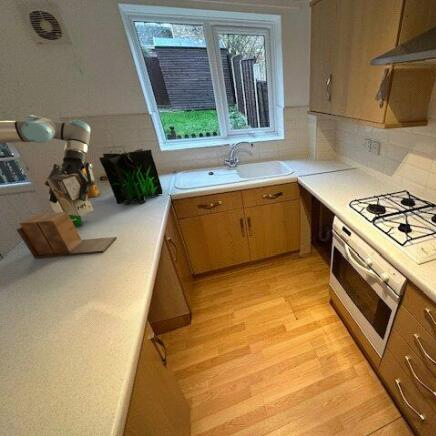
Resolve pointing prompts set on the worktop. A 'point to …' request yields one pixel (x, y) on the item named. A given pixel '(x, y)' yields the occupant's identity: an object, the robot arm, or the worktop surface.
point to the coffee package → (92, 189)
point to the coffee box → (69, 194)
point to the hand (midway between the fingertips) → (67, 201)
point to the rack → (57, 237)
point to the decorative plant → (132, 175)
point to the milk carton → (74, 218)
